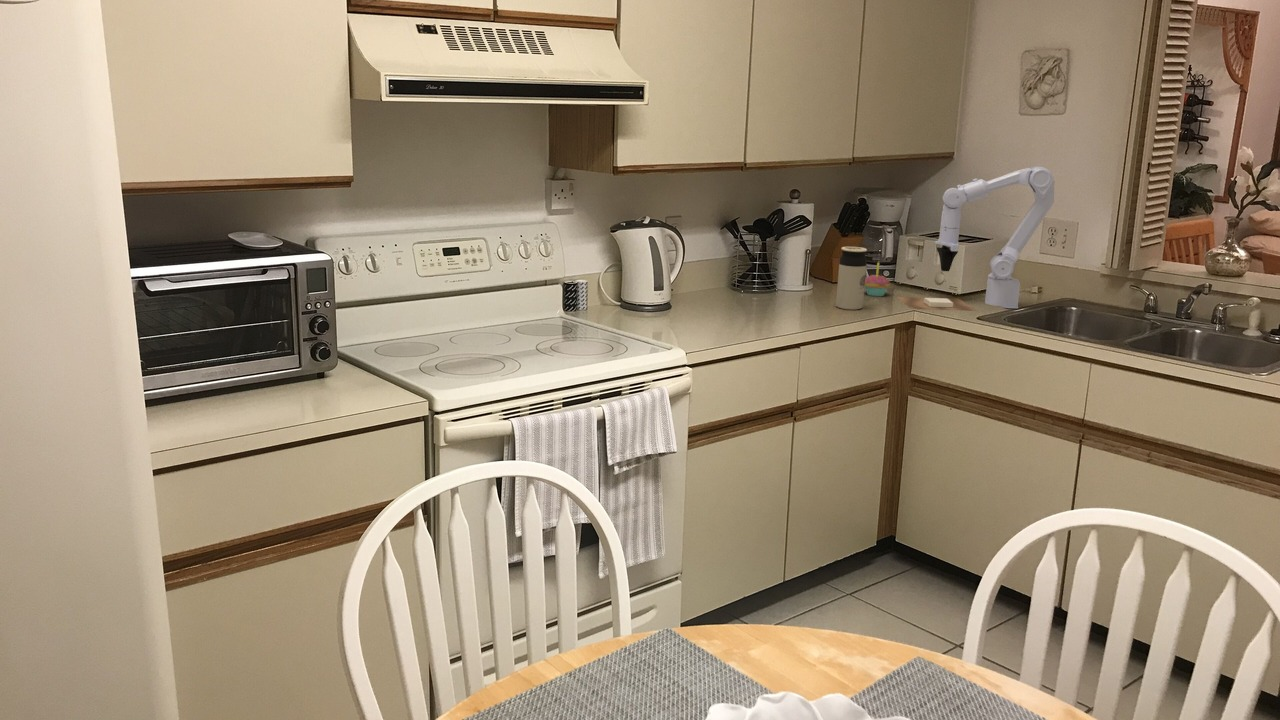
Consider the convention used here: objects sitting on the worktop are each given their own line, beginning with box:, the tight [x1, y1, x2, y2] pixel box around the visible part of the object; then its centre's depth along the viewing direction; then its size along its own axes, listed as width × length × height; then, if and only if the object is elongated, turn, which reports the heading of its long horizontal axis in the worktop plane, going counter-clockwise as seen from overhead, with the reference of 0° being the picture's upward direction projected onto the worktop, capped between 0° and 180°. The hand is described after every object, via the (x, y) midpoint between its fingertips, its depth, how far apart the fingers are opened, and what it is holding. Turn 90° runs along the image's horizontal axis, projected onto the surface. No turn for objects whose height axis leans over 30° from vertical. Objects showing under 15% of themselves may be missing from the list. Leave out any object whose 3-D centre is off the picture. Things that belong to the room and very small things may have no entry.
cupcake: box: [864, 260, 891, 297], centre depth 323 cm, size 9×8×12 cm
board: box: [896, 296, 978, 312], centre depth 313 cm, size 20×18×1 cm
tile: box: [923, 297, 953, 308], centre depth 310 cm, size 7×2×6 cm
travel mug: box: [835, 246, 868, 311], centre depth 305 cm, size 8×8×18 cm
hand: (945, 270), depth 317 cm, fingers closed
